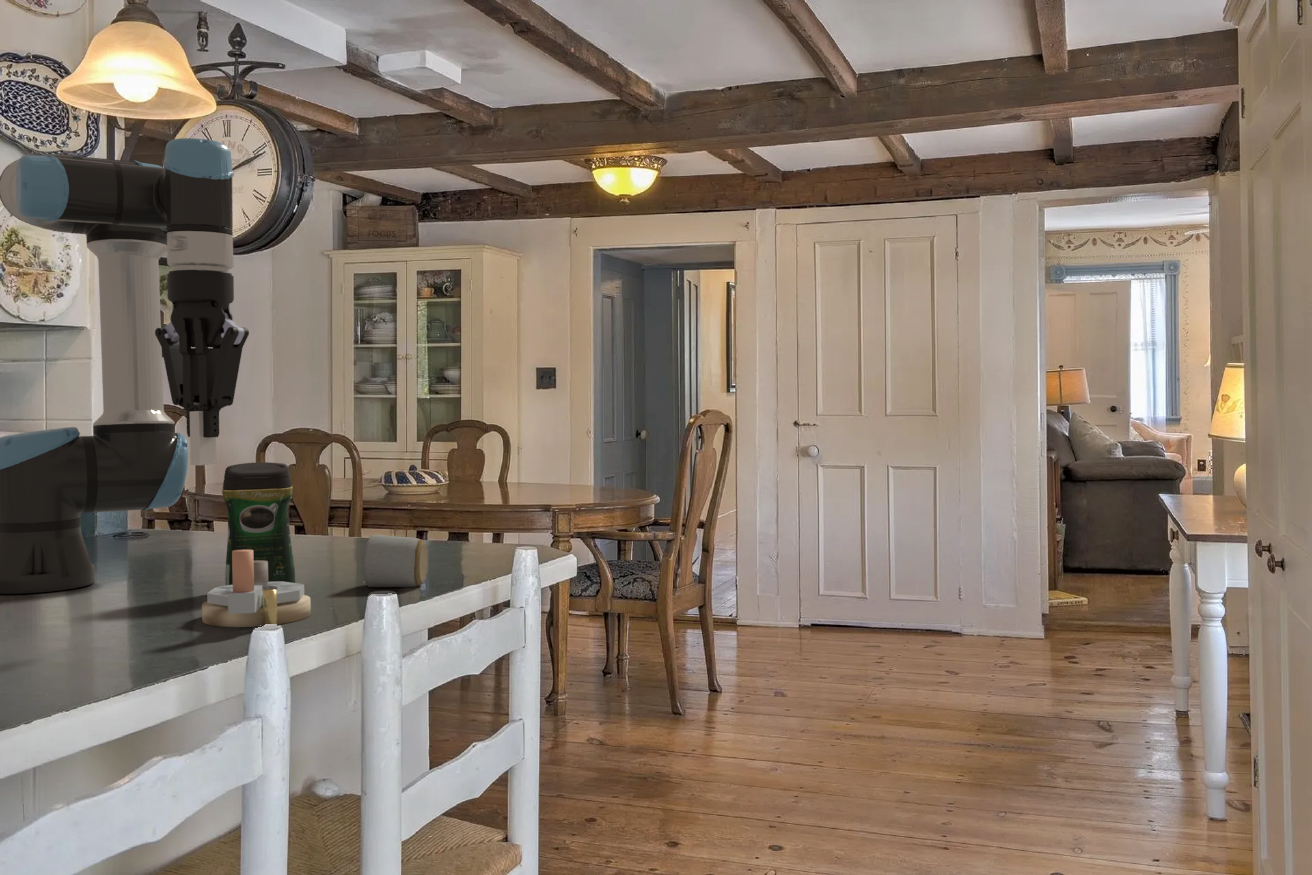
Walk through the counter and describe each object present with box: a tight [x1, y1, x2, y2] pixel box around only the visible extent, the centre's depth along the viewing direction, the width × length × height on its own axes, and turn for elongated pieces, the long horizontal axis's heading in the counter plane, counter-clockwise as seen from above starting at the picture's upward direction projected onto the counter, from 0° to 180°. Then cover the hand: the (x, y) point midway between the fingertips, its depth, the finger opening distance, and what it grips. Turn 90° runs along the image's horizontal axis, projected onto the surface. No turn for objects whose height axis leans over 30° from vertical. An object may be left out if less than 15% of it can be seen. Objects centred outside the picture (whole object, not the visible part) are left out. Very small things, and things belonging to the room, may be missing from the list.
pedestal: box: [201, 560, 312, 628], centre depth 147 cm, size 13×13×7 cm
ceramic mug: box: [363, 534, 429, 588], centre depth 172 cm, size 11×8×8 cm
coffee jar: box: [221, 461, 296, 586], centre depth 167 cm, size 10×8×19 cm
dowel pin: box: [263, 589, 278, 625], centre depth 141 cm, size 2×2×4 cm
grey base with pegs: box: [206, 550, 305, 614], centre depth 144 cm, size 16×11×7 cm
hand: (203, 464), depth 142 cm, fingers closed
